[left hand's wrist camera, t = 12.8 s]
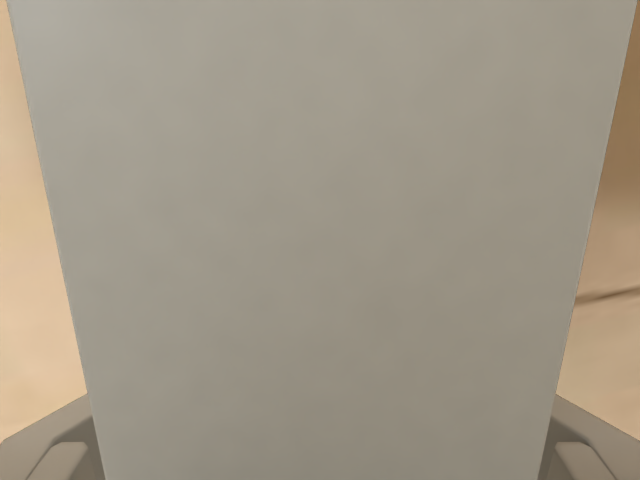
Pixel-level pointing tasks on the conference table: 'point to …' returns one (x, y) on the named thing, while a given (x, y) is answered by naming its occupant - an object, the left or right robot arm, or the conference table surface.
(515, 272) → the bar
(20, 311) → the conference table surface
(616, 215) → the conference table surface
